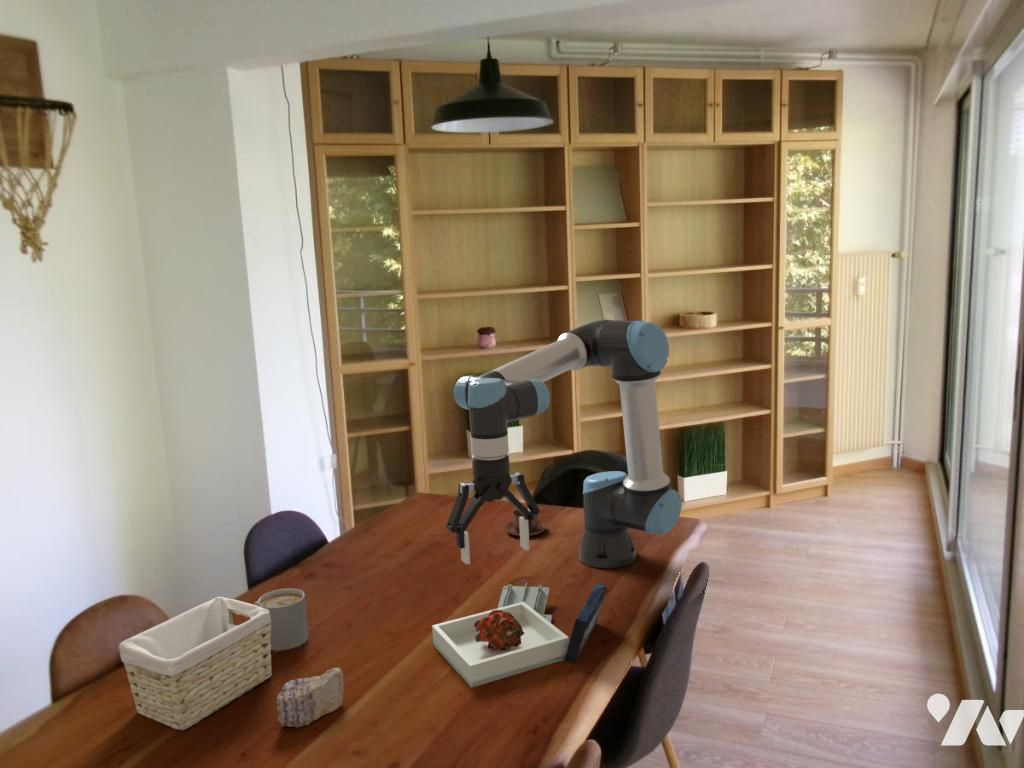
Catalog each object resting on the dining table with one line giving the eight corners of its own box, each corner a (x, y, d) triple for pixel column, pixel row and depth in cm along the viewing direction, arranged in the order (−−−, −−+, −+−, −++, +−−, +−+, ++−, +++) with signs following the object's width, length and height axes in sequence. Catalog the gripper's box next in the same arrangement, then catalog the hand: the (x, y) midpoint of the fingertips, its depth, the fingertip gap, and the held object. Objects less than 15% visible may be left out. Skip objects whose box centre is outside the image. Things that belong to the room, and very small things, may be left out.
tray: (524, 620, 186) (523, 601, 185) (569, 658, 168) (568, 637, 167) (433, 645, 176) (432, 625, 175) (471, 687, 158) (469, 666, 158)
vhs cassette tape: (575, 665, 166) (586, 622, 163) (561, 660, 167) (572, 617, 164) (598, 626, 183) (609, 586, 180) (585, 621, 184) (596, 581, 181)
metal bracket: (495, 577, 197) (557, 579, 194) (498, 596, 200) (559, 598, 196) (483, 618, 184) (549, 621, 181) (486, 638, 187) (551, 641, 184)
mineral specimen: (326, 690, 160) (323, 657, 159) (351, 703, 155) (348, 670, 154) (264, 722, 150) (260, 688, 149) (288, 737, 145) (284, 702, 144)
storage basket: (178, 739, 146) (168, 662, 144) (123, 715, 155) (113, 642, 152) (281, 677, 166) (274, 608, 164) (227, 658, 175) (220, 593, 172)
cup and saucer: (509, 525, 250) (508, 505, 249) (548, 525, 248) (548, 506, 247) (502, 539, 238) (501, 518, 237) (543, 540, 236) (542, 519, 235)
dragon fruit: (523, 664, 167) (479, 656, 175) (539, 627, 172) (495, 621, 180) (502, 641, 163) (458, 634, 171) (519, 604, 168) (475, 599, 176)
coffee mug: (317, 637, 182) (314, 595, 180) (279, 656, 174) (275, 611, 173) (281, 622, 190) (277, 581, 189) (244, 639, 183) (239, 596, 181)
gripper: (535, 442, 175) (539, 537, 179) (425, 461, 164) (432, 562, 168) (553, 449, 169) (557, 547, 172) (440, 469, 158) (447, 574, 161)
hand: (495, 555), depth 170 cm, fingers open, 13 cm apart
